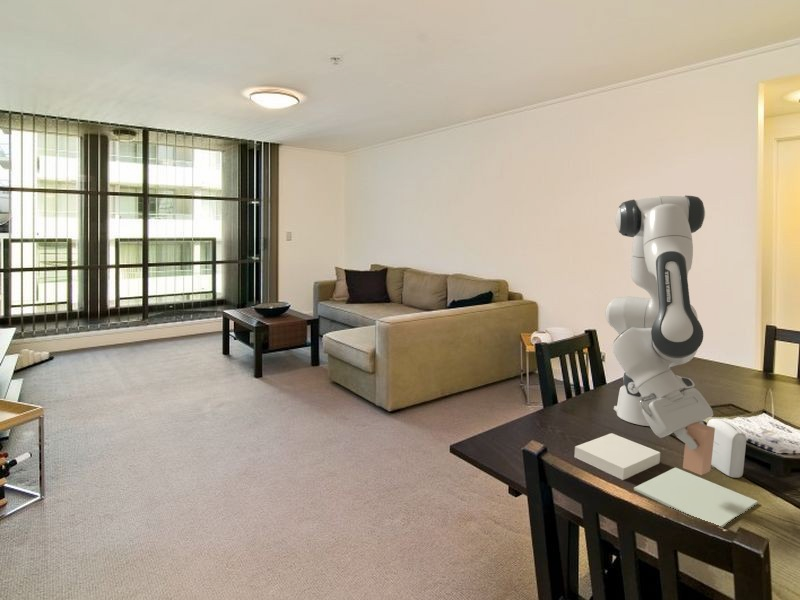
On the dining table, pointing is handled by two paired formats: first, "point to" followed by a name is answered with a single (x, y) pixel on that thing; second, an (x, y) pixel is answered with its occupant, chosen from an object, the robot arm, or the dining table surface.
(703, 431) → the block
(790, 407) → the dining table surface
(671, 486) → the mat
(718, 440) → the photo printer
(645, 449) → the block
